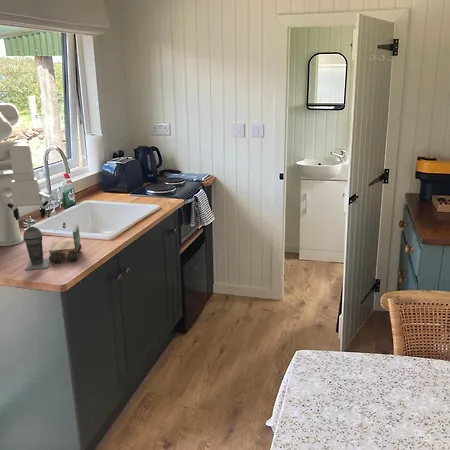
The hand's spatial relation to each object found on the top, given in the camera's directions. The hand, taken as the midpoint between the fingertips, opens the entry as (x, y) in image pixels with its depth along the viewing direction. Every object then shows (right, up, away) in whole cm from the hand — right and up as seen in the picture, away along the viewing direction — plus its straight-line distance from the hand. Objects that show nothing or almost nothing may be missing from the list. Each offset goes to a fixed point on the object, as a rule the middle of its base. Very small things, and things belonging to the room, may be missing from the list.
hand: (30, 218), depth 198 cm
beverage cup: (+1, -19, +6) cm, 19 cm away
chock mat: (+1, -19, +6) cm, 20 cm away
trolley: (+10, -16, +13) cm, 23 cm away
